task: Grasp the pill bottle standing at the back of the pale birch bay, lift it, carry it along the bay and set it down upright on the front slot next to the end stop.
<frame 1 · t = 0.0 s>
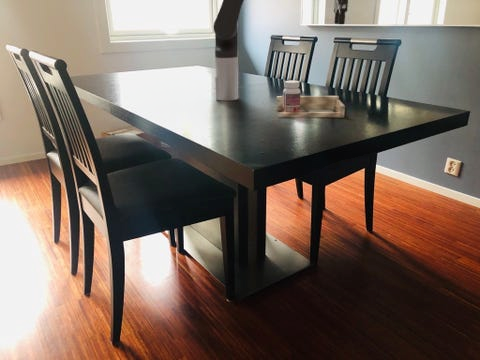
hand: (339, 24, 154), 29 cm above the table, fingers open, 8 cm apart
bay: (307, 113, 140), on the table
pill bottle: (291, 113, 141), on the table
front slot: (321, 113, 140), resting in bay
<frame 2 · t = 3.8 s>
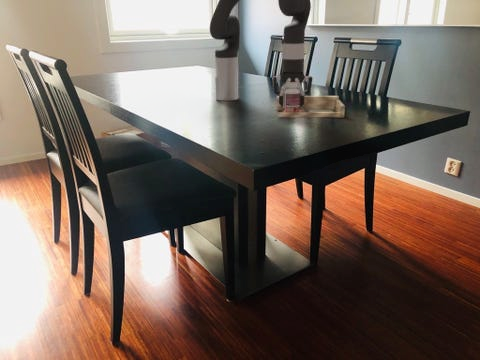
hand: (291, 105, 140), 3 cm above the table, fingers closed on pill bottle, 6 cm apart
pill bottle: (291, 113, 141), on the table, touching gripper
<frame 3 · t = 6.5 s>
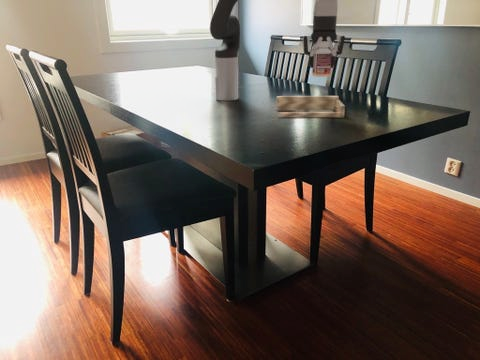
hand: (321, 67, 134), 16 cm above the table, fingers closed on pill bottle, 6 cm apart
pill bottle: (320, 76, 135), point 13 cm above the table, touching gripper
when the fingers open (5 cm above the table, at t = 9.0 s): pill bottle drops 2 cm, resting on front slot.
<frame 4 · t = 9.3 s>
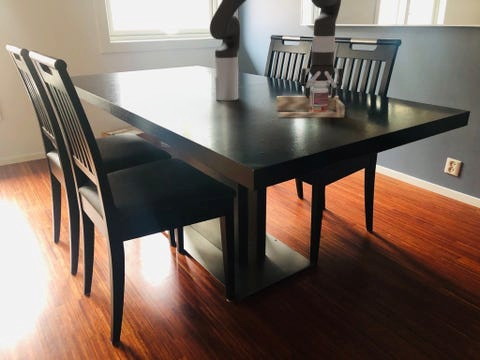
hand: (319, 98, 138), 5 cm above the table, fingers open, 8 cm apart
pill bottle: (318, 112, 140), resting on front slot
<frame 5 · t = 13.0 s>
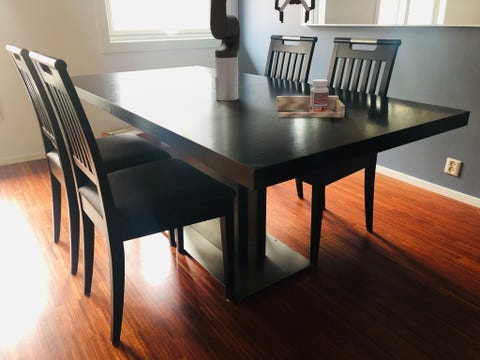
hand: (294, 22, 142), 30 cm above the table, fingers open, 8 cm apart
nothing on the table moved.
at the end: pill bottle inside the target area (1.6 cm from its centre), resting on front slot; pill bottle tilted 0°; the gripper is holding nothing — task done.
